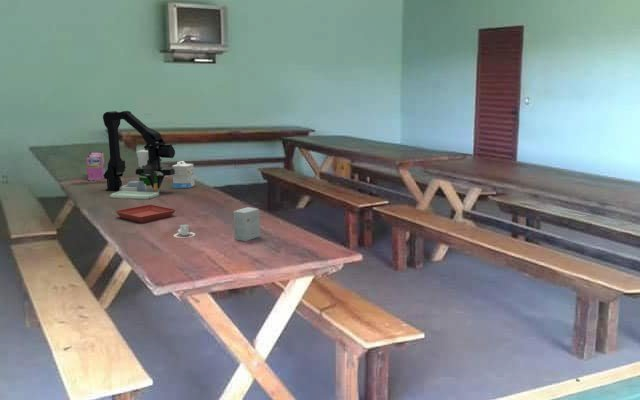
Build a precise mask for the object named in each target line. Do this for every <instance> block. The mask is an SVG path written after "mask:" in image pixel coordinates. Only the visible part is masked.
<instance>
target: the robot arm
mask: <svg viewBox="0 0 640 400" xmlns="http://www.w3.org/2000/svg"><path fill="white" fill-rule="evenodd" d="M121 120H124V121H125V122H126V123H127V124H129V125H130V126H131V127H132V128H133V129H134V130H136V131H137V132H138V133H139V134H140V135H141V138H142V140H144V141H145V142H146V143H145V145H144V146H143V149H145V148H148V160H147V165H145V166H144V167H141V168H139V167H138V168H136V169H135V175H138V176H139V175H141V174H142V173H144V174H145V175H144V176H146V177H147V178H148V179H149V181H150V183H151V185H150V186H151V187H152V190H154V184H153V183H155V174H153V173H157V176H156V177H157V182H158V189H159V190H160V188H161V186H162V183H163V180H164V178H165V177H166V176H173V174H175V170H174V169H173V168H172V167H166V168H163V166H162V165H161V164H162V163H161V162H162V159H174V157H175V155H176V151H175V147H173V144H171V143H169V144H166V142H165V141H164V139H163V138H162V135H161V133H160V132H158V131H156V130H155V129H153V128H150V127H148V126H147V125H146V124H145V123H143V122H142V121H141V120H140V119H139V118H138V117H136V116H135V115H134V114H133V113H132V112H131V111H129V110H123V111H116V110H112V111H106V112H104V113H103V114H102V121H103V124H104V126H105V128H106V129H107V139H108V148H109V150H108V151H109V160H108V163H107V170H105V173H104V175H103V176H104V178H103V179H105V180H106V187H107V188H106V189H105V191H114V192H115V191H116V192H118V191H120V187H121V186H123V181H122V177H123V175H124V172H126V168H127V167H126V161H125V159H122V158H121V150H120V149H121V148H120V139H119V128H120V125H121Z"/></svg>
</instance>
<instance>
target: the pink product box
mask: <svg viewBox="0 0 640 400" xmlns="http://www.w3.org/2000/svg"><path fill="white" fill-rule="evenodd" d="M104 156H105V155H104V151H100V152H92V151H90V152H88V154H87V156H86V158H85V159H86V169H87V171H86V172H87V181H88V180H102V181H103V180H104V179H105V178H104V176H103V175H104V173H105V172H106V167H105V157H104Z"/></svg>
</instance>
